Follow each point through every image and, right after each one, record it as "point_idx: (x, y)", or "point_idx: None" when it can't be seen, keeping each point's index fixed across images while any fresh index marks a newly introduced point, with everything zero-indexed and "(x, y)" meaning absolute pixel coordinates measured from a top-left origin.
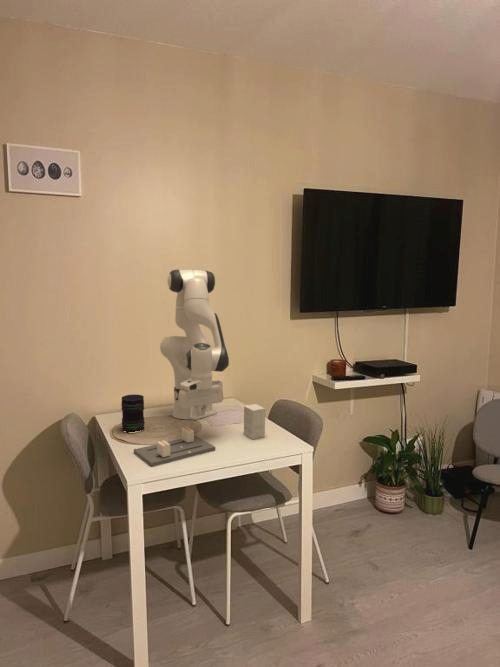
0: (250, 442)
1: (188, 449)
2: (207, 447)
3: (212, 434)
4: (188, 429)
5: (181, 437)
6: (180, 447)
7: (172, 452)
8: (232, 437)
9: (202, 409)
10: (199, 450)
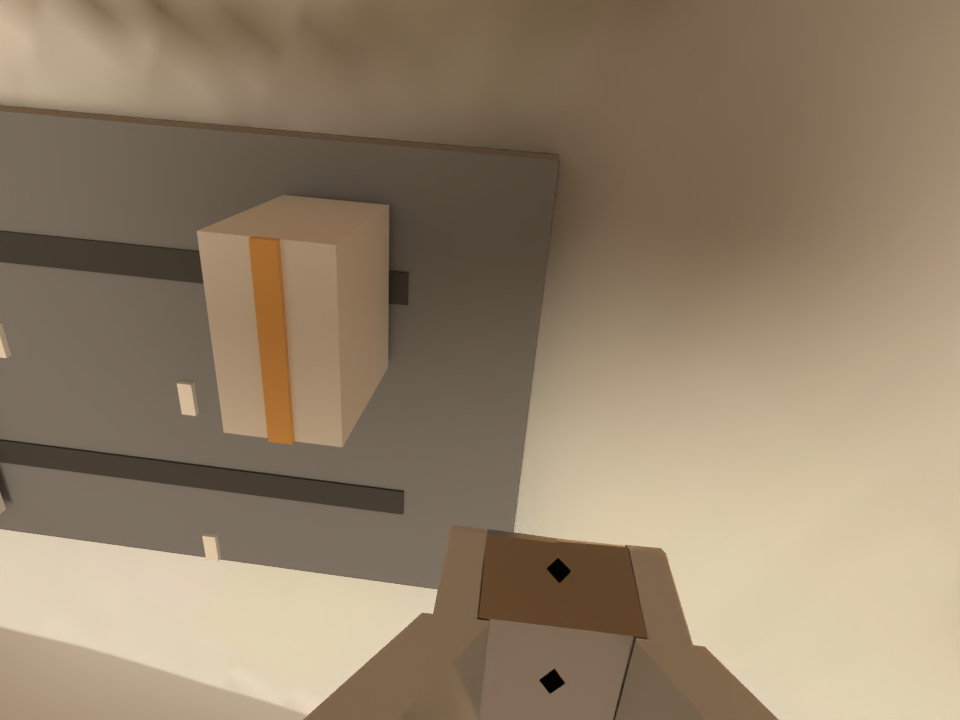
0: (932, 644)
1: (231, 491)
2: (429, 563)
3: (880, 173)
4: (284, 366)
5: (273, 201)
6: (179, 393)
7: (54, 451)
8: (952, 439)
9: (657, 681)
10: (318, 567)
